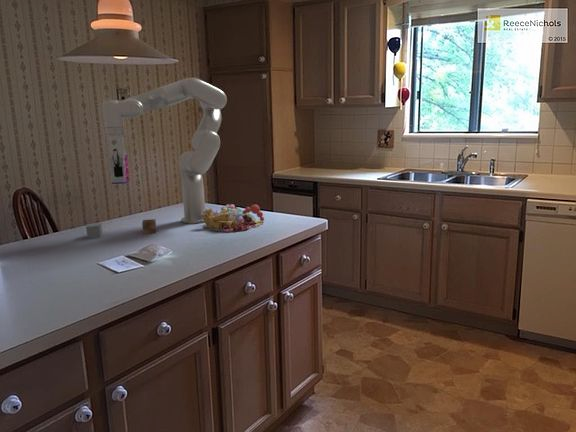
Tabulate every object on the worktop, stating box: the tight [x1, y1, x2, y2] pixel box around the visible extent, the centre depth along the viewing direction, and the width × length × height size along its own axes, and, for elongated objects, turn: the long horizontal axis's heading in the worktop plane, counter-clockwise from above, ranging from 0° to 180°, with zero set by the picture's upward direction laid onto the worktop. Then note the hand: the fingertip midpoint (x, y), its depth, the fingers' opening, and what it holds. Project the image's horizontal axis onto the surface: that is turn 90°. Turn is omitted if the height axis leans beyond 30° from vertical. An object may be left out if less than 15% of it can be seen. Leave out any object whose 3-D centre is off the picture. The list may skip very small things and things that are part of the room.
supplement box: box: [108, 154, 130, 185], centre depth 200 cm, size 6×6×12 cm
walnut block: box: [141, 218, 157, 235], centre depth 204 cm, size 5×5×5 cm
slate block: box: [85, 222, 104, 239], centre depth 200 cm, size 5×5×5 cm
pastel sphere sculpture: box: [201, 204, 265, 233], centre depth 211 cm, size 25×24×9 cm
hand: (120, 175), depth 200 cm, fingers closed on supplement box, 6 cm apart
